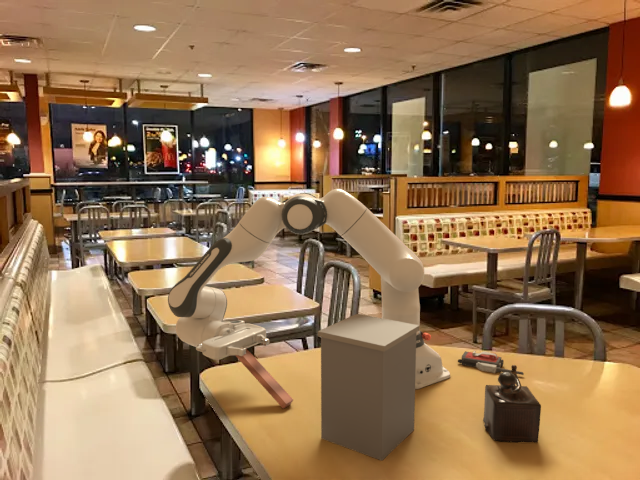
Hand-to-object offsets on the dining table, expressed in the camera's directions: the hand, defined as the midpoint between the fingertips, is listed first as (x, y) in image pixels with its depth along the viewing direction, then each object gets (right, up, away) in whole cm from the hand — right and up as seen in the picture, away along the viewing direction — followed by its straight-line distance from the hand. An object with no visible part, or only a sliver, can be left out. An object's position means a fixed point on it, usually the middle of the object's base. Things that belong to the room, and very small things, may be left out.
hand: (256, 347), depth 142 cm
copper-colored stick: (0, -7, +1) cm, 7 cm away
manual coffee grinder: (+62, -17, -19) cm, 67 cm away
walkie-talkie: (+71, -11, +22) cm, 75 cm away
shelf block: (+29, -17, -18) cm, 38 cm away
